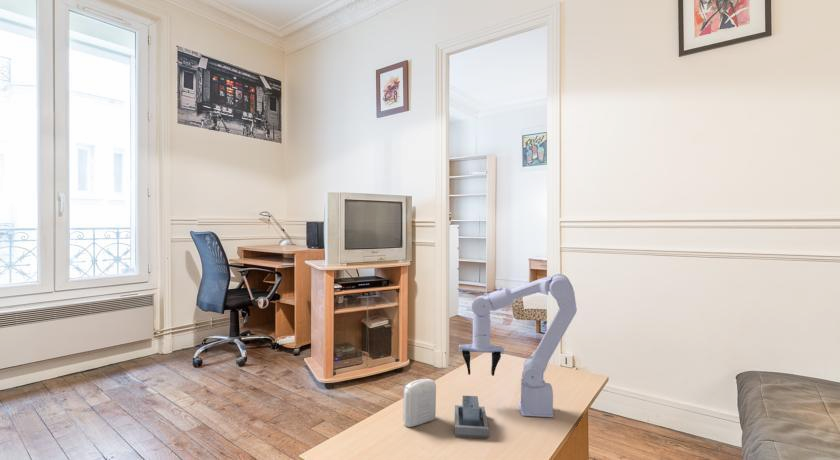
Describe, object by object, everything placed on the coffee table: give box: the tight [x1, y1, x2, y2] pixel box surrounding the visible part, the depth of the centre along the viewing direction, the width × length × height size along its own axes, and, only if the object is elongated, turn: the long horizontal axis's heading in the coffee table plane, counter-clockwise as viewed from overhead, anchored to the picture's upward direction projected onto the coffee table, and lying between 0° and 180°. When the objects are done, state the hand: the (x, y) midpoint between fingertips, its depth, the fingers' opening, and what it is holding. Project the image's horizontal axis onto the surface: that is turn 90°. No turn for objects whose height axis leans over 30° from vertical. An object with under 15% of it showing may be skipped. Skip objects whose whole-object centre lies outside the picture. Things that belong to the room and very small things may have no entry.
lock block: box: [461, 395, 480, 426], centre depth 112 cm, size 4×8×6 cm, turn 175°
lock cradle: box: [454, 404, 489, 440], centre depth 112 cm, size 9×12×3 cm
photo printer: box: [402, 378, 437, 428], centre depth 114 cm, size 10×4×12 cm, turn 123°
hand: (480, 374), depth 127 cm, fingers open, 7 cm apart
